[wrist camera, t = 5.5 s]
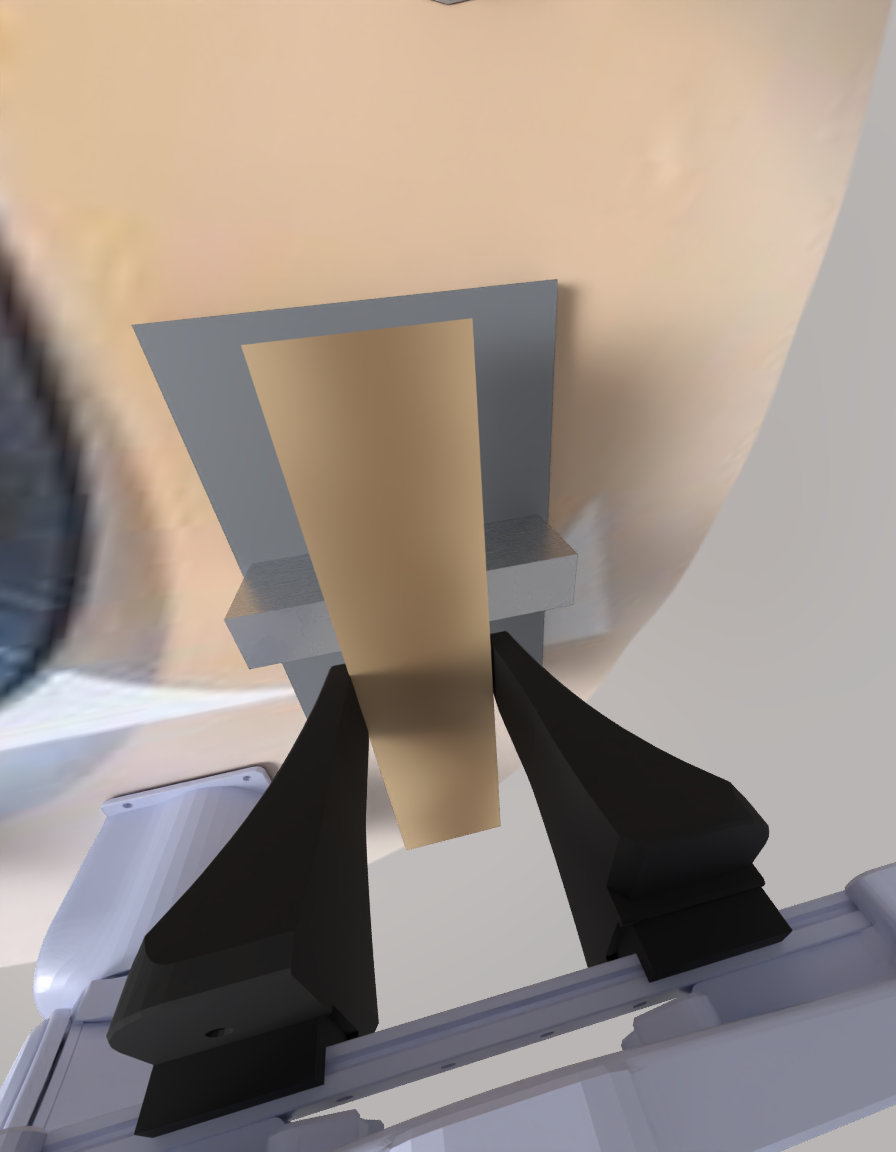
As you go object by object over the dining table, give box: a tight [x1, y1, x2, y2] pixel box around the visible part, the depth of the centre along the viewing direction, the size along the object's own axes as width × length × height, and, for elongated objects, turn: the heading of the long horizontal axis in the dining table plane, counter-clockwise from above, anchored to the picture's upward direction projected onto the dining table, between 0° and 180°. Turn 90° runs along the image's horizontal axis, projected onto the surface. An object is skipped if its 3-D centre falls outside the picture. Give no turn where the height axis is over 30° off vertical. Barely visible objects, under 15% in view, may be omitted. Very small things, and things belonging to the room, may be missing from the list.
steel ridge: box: [224, 514, 577, 669], centre depth 17 cm, size 13×2×4 cm, turn 96°
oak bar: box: [241, 318, 500, 850], centre depth 13 cm, size 4×18×4 cm, turn 6°
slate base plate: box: [132, 279, 558, 719], centre depth 19 cm, size 14×20×1 cm
